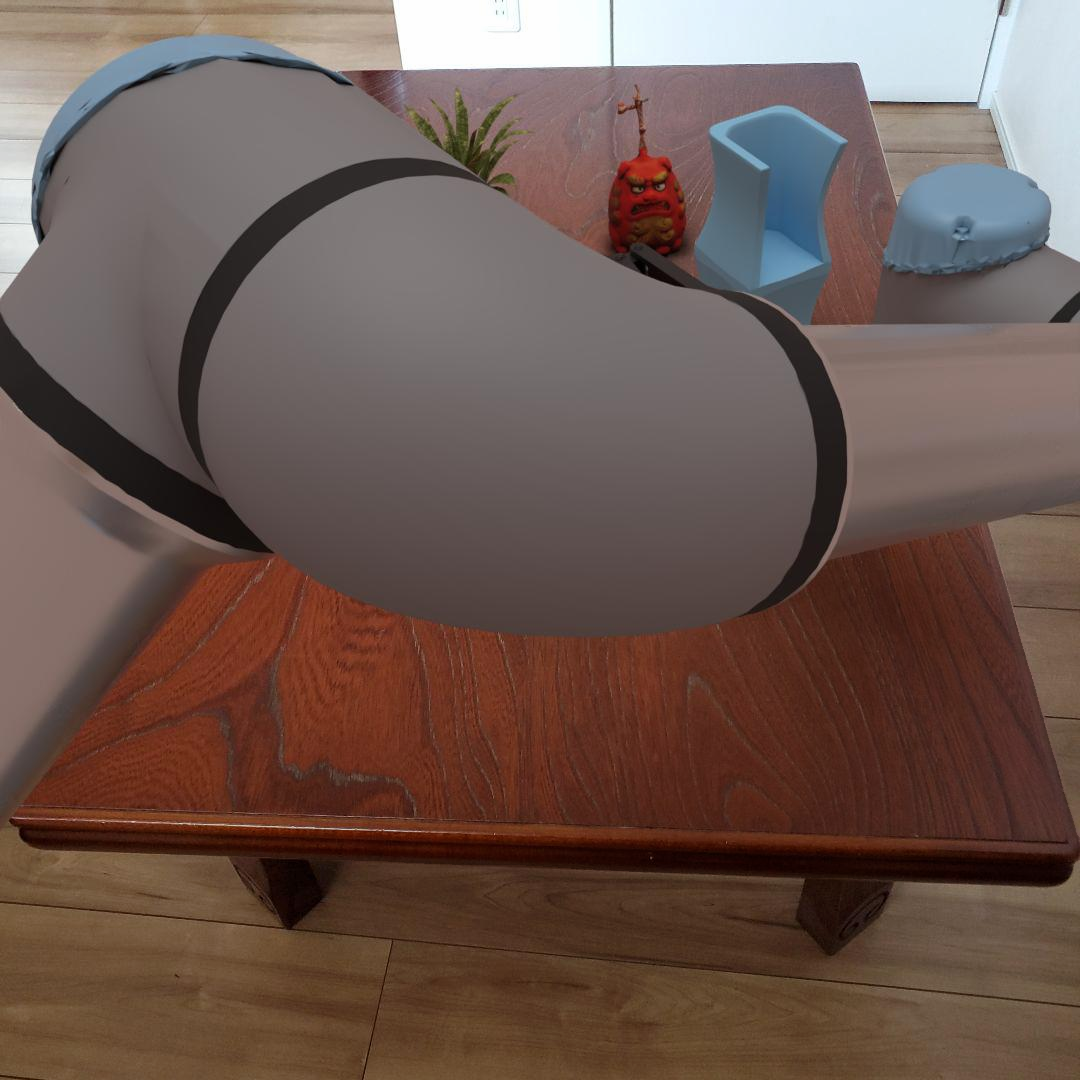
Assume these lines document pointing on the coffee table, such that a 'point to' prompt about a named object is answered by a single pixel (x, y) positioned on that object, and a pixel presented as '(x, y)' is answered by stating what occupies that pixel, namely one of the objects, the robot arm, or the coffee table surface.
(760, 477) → the robot arm
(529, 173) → the coffee table surface
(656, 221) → the red clay folk toy
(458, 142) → the house plant
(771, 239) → the blue high-backed chair
